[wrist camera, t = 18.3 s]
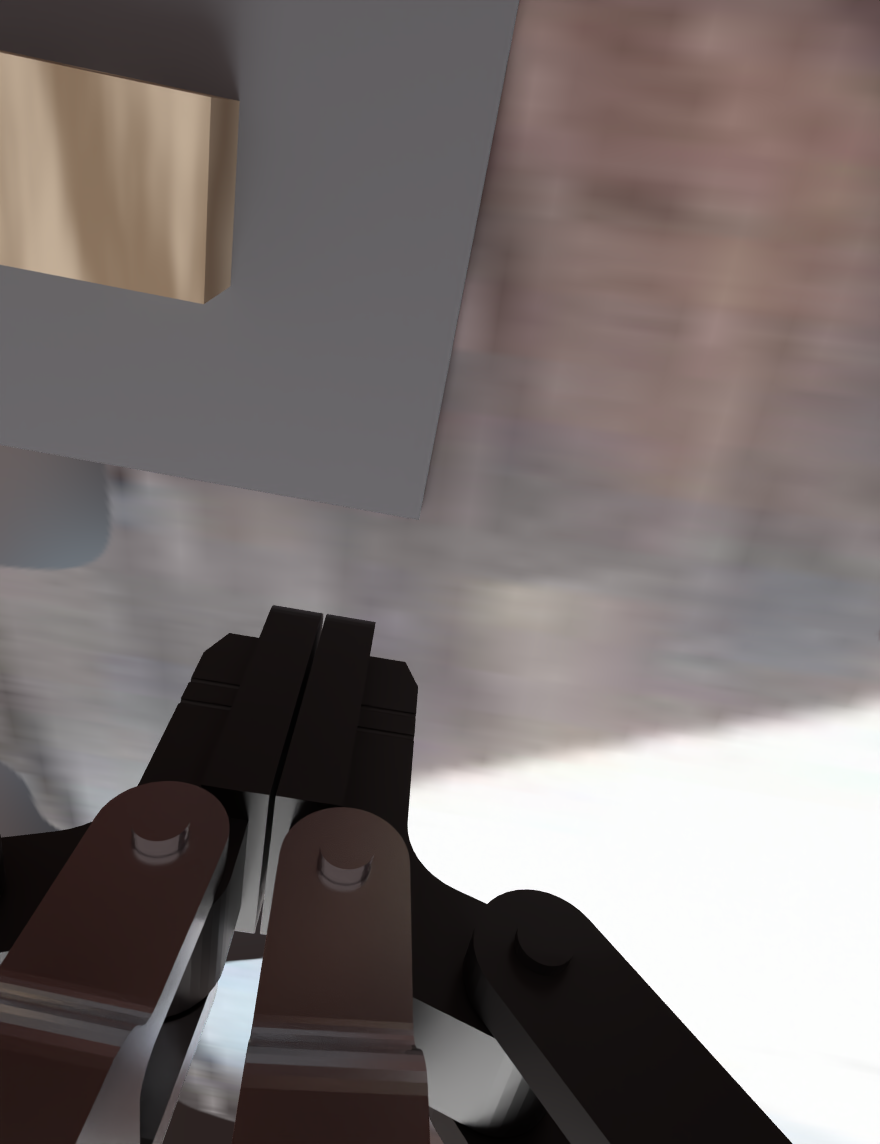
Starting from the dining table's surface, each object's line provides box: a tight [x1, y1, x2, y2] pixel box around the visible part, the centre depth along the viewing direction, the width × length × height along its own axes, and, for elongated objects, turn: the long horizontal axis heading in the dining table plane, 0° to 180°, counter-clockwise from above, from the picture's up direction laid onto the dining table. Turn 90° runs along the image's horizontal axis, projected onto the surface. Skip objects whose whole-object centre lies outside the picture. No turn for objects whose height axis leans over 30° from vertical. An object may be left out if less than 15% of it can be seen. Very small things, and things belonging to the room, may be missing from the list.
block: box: [0, 50, 240, 304], centre depth 30 cm, size 4×7×11 cm
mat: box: [0, 0, 519, 520], centre depth 32 cm, size 22×26×1 cm
